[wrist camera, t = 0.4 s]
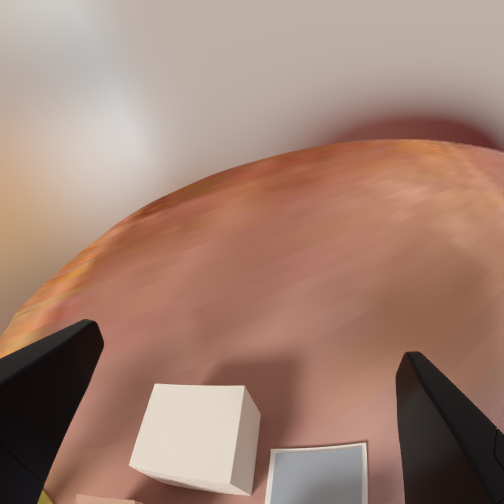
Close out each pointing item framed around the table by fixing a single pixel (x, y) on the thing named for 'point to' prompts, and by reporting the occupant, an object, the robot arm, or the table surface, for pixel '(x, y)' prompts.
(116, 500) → the terracotta block
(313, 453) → the tile
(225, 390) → the cream block
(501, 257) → the table surface
